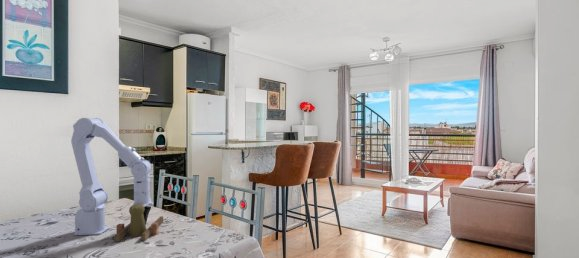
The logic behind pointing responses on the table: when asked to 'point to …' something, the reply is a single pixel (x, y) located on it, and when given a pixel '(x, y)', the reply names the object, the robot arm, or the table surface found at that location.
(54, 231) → the table surface
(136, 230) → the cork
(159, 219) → the guide channel
